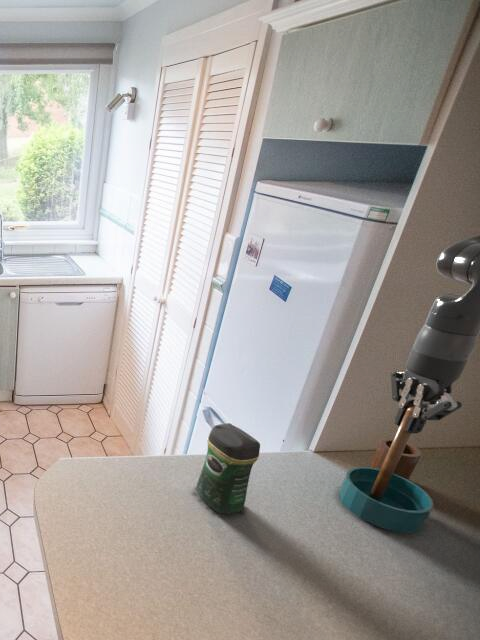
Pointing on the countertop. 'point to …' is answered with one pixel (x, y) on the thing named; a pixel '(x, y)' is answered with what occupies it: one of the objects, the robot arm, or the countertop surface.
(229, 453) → the coffee jar
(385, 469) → the stick
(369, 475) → the bowl
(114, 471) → the countertop surface
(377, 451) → the utensil pot
